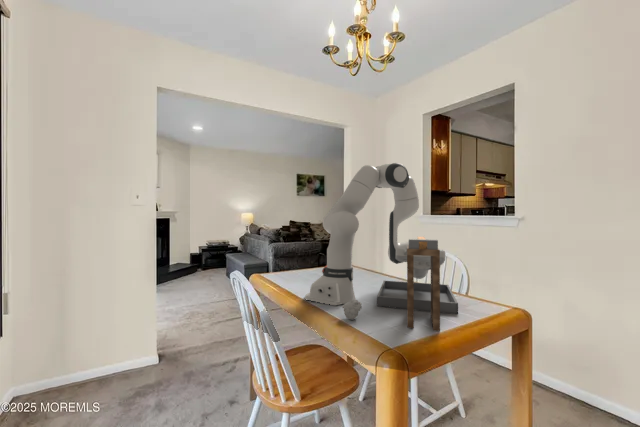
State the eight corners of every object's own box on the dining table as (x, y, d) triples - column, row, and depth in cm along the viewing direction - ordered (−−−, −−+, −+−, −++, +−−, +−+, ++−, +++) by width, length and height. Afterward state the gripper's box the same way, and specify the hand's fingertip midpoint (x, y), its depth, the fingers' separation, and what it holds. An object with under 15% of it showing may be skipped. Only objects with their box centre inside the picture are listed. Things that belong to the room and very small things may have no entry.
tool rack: (407, 327, 94) (407, 248, 94) (407, 315, 106) (407, 245, 106) (440, 331, 91) (439, 249, 91) (436, 318, 103) (436, 246, 103)
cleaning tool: (408, 248, 95) (408, 239, 95) (409, 242, 116) (409, 235, 116) (437, 249, 92) (437, 240, 92) (432, 243, 113) (432, 235, 113)
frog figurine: (362, 322, 98) (362, 302, 98) (342, 321, 99) (342, 301, 99) (361, 316, 104) (361, 297, 105) (342, 315, 105) (342, 296, 105)
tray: (377, 306, 116) (377, 296, 116) (383, 288, 144) (383, 280, 144) (458, 314, 107) (458, 303, 107) (448, 293, 135) (448, 284, 135)
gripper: (395, 253, 133) (394, 240, 122) (443, 255, 127) (446, 242, 116) (395, 266, 130) (394, 254, 119) (443, 268, 124) (447, 256, 113)
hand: (420, 248), depth 117 cm, fingers open, 8 cm apart
